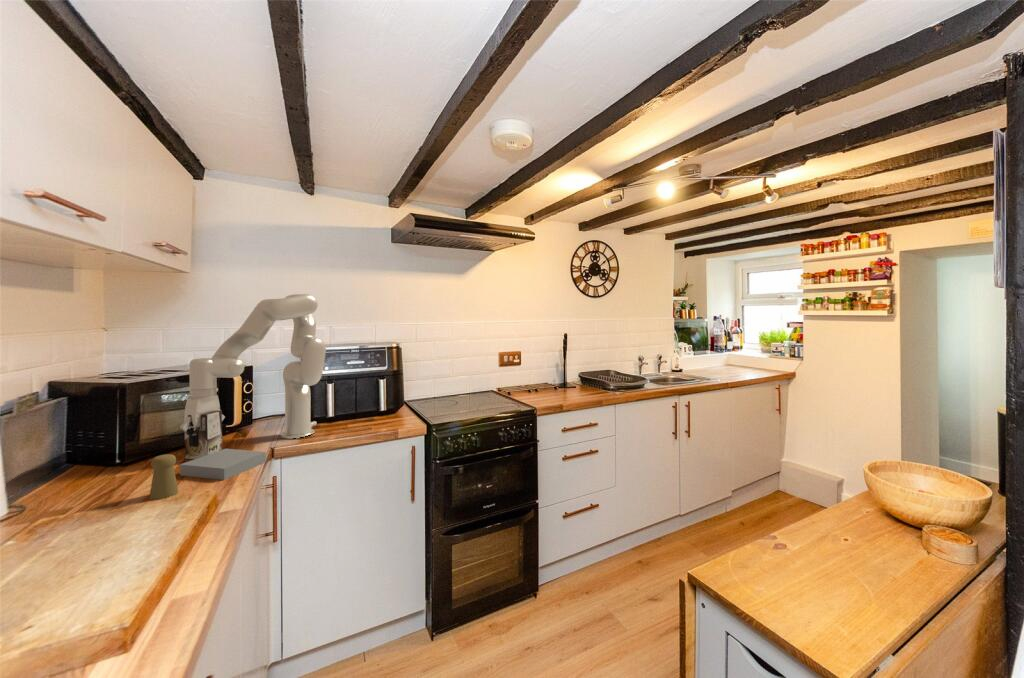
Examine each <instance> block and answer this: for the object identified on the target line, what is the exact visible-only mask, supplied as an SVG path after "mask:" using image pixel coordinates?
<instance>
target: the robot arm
mask: <svg viewBox="0 0 1024 678" xmlns="http://www.w3.org/2000/svg"><path fill="white" fill-rule="evenodd" d="M318 304H319V303H318V300H317V299H316V298H315V297H314V296H313V295H311V294H309V293H307V294H306V293H300V294H299V293H298V294H297V293H295V294H294V293H293V294H290V295H287V296H285V297H282V298H268V299H267V298H266V299H265V298H264V299H263V300H260V301H259V302H258V303H257V304H256V306H255V307H254V308H253V310H252V312H251V313H250V314H249V315H248V317H247V318H246V319H245V320H244V322H243V323H242V325H241V326H240V328H239V329H237V330H236V331H235V332H234V333H233V334H232V335H230V337H228V338H227V339H226V340H225V341H224V342H222V344H221V345H220V346H219V347H218V349H217V350H216V352H215V353H213V355H212V357H211V358H208V357H206V358H205V357H204V358H203V357H201V358H193V359H191V360H190V362H189V398H187V399H186V403H185V407H184V414H185V415H184V414H183V417H184V418H183V423H182V424H181V425H180V426H179V429H180V430H182V431H183V433H184V434H185V433H186V434H187V435H189V446H191V447H197V446H198V435H196V434H197V432H198V430H199V427H200V424H201V414H205V413H208V412H212V411H217V410H219V411H221V405H220V399H219V395H218V394H217V392H218V391H219V388H218V386H217V384H218V383H217V381H218V380H217V378H227V379H229V378H230V379H231V378H237V377H238V376H240V375H241V374H243V372H244V371H245V364H244V362H243V361H242V360H241V359H240V358H239V357H240V356H241V354H242V353H244V352H245V351H246V350H247V349H249V348H250V347H253V346H255V345H256V344H259V343H260V342H261V341H263V340H264V339H265V337H266V335H267V334H268V333H269V332H270V329H271V328H272V327H273V325H274V324H275V322H277V321H286V320H287V321H288V320H292V321H293V322H292V323H293V330H292V338H291V341H290V354H291V355H292V356H293V357H294V358H297V359H301V360H300V361H299V360H298V361H297V360H296V361H292V362H289V363H288V364H287V365H285V367H284V368H283V370H282V378H283V384H284V394H285V395H284V414H285V415H284V420H285V421H284V425H285V426H284V427H285V428H284V431H283V432H281V433H280V437H281V438H282V439H287V440H290V439H292V440H293V438H296V439H301V438H300V437H304V438H306V437H305V436H308V435H311V434H313V433H314V434H315V430H314V429H313V427H314V426H316V425H317V424H318V423H317V421H315V420H314V421H311V401H312V400H311V394H312V393H311V387H312V386H315V385H317V384H318V383H319V382H320V380H321V379H322V375H323V372H324V366H325V360H326V354H327V353H326V351H327V350H326V349H327V348H326V344H325V342H324V341H323V340H322V339H321V338H319V337H316V331H317V330H316V329H317V321H316V318H315V316H314V313H315V312H316V311H317V310H318ZM225 418H226V416H225V415H224V414H223V413H222V422H223V421H224V419H225ZM190 423H191V424H190ZM192 423H193V424H194V426H192ZM189 424H190V427H189V426H188V425H189ZM188 427H189V428H188ZM193 428H194V431H193ZM314 434H313V435H314ZM311 436H312V435H311ZM308 437H309V436H308Z"/></svg>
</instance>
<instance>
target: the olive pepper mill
mask: <svg viewBox="0 0 1024 678" xmlns="http://www.w3.org/2000/svg"><path fill="white" fill-rule="evenodd" d="M176 462H177V457H176V456H175V455H174V454H170V453H169V454H168V453H167V454H160V455H157V456H155V457H154V458H152V460H151V463H150V466H151V468H152V469H153V472H152V478H151V479H152V480H151V487H150V492H149V499H150V500H155V499H156V500H162V499H161V498H164V499H167V497H168V498H171V497H173V495H174V496H175V495H177V494H179V488H178V481H177V478H176V472H175V467H174V466H175V465H176ZM170 496H171V497H170Z"/></svg>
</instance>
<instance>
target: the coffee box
mask: <svg viewBox="0 0 1024 678" xmlns="http://www.w3.org/2000/svg"><path fill="white" fill-rule="evenodd" d="M222 414H223V410H220V411H219V410H217V411H212V412H208V413H205V414H201V424H200V427H199V430H198V432H197V434H196V435H198V446H197V447H191V446H189V435H187V434H186V433H185V432H184V453H185V454H184V456H185V457H184V458H185V460H194V459H197V458H200V457H203V456H206V455H209V454H212V453H214V452H217V451H220V450H223V425H222V424H223V423H222V422H223V421H222ZM184 415H185V413H184V414H183V416H184ZM190 424H191V423H190ZM190 424H189V425H188V426H189V427H190ZM192 426H194V424H193V423H192ZM189 427H188V428H189ZM193 431H194V428H193Z"/></svg>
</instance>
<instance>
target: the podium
mask: <svg viewBox="0 0 1024 678" xmlns="http://www.w3.org/2000/svg"><path fill="white" fill-rule="evenodd" d="M266 454H267V452H266V451H256V450H248V449H234V448H222V450H220V451H217V452H214V453H212V454H209V455H206V456H203V457H200V458H197V459H190V460H189V461H186V462H184V463H183V462H182V463H181V464H179V475H180V477H181V476H182V477H191V478H201V479H202V478H203V479H210V480H222V481H225V480H227V479H231V478H233V477H234V476H237V475H239V474H241V473H243V472H247V471H248V470H250V469H253V468H256V467H257V466H260V465H262V464H264V463H266V462H267V461H266V460H267V459H266V457H267V455H266Z"/></svg>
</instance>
